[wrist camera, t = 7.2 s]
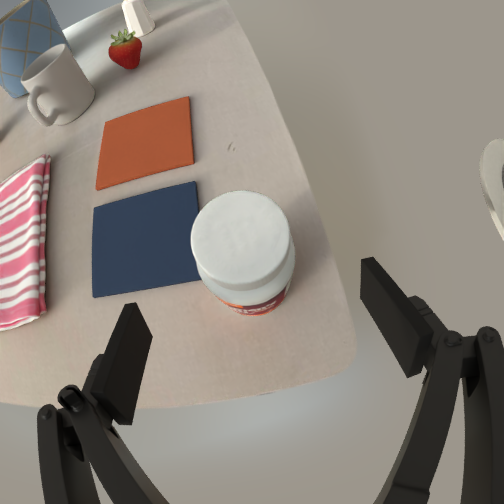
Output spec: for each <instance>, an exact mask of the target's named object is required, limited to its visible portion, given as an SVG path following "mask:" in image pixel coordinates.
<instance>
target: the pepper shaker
mask: <svg viewBox="0 0 504 504" xmlns="http://www.w3.org/2000/svg"><path fill="white" fill-rule="evenodd" d="M122 8H123V12H124V16H125V19H126V23H127V27H128V30H129V34H130V33H132V32H133V31H134V32H136V33H135V35H134V37H136V38H137V37H141V36H144V35H146V34H148V33H150V32H151V31H153V29H154V28H155V24H154V22H153V20H152V18H151V16H150V14H149V12H148V10H147V8H146V6H145V4H144V2H143V1H142V0H124V2H123V3H122Z"/></svg>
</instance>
